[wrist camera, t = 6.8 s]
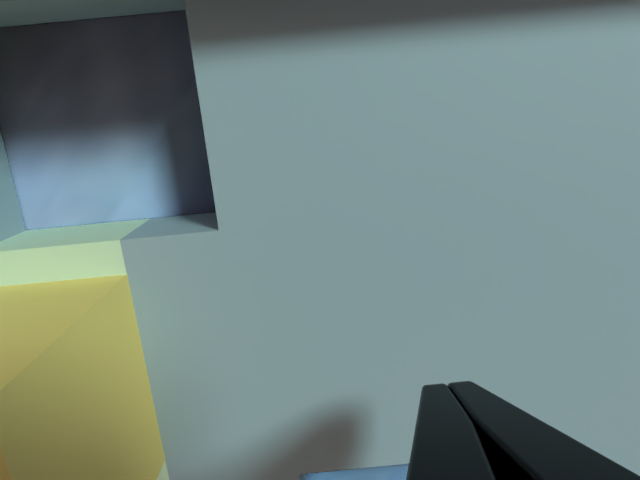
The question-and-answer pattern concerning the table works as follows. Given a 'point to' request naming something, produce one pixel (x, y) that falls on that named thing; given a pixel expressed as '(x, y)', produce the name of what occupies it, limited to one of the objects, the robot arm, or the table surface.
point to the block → (75, 384)
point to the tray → (379, 228)
